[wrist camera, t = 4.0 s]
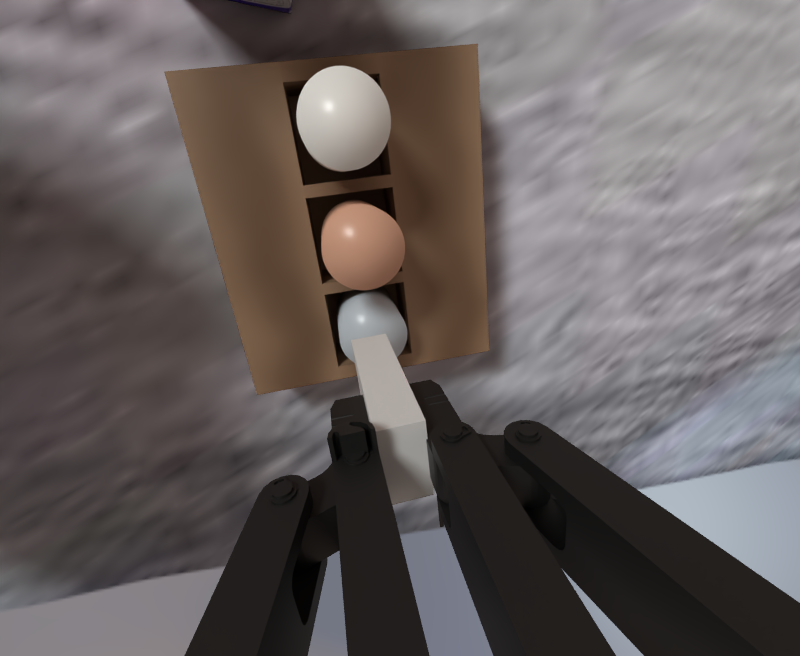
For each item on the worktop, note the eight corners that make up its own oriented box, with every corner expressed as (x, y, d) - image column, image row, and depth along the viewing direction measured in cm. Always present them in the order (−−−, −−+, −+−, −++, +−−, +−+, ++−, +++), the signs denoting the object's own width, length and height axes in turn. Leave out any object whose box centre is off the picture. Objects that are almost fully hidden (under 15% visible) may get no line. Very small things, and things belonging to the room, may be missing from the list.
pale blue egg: (341, 339, 26) (345, 372, 22) (331, 286, 25) (333, 310, 20) (395, 329, 27) (410, 360, 22) (388, 277, 25) (403, 298, 21)
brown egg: (328, 272, 22) (329, 296, 18) (315, 204, 21) (313, 212, 16) (392, 262, 23) (409, 283, 18) (383, 195, 21) (400, 200, 17)
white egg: (309, 175, 20) (307, 175, 16) (294, 94, 19) (286, 70, 15) (380, 167, 21) (396, 164, 16) (370, 87, 19) (384, 61, 15)
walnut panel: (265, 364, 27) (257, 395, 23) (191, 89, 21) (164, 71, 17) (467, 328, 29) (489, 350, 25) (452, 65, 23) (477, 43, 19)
